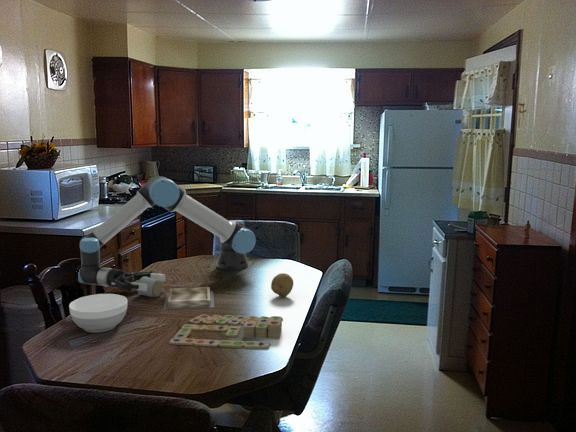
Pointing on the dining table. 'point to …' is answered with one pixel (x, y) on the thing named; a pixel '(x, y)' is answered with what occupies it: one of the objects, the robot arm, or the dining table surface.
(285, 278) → the natural sponge
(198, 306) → the mat
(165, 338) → the dining table surface
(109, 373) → the dining table surface
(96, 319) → the bowl
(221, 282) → the dining table surface
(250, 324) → the pile of dominoes
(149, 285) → the ceramic mug
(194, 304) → the tray
